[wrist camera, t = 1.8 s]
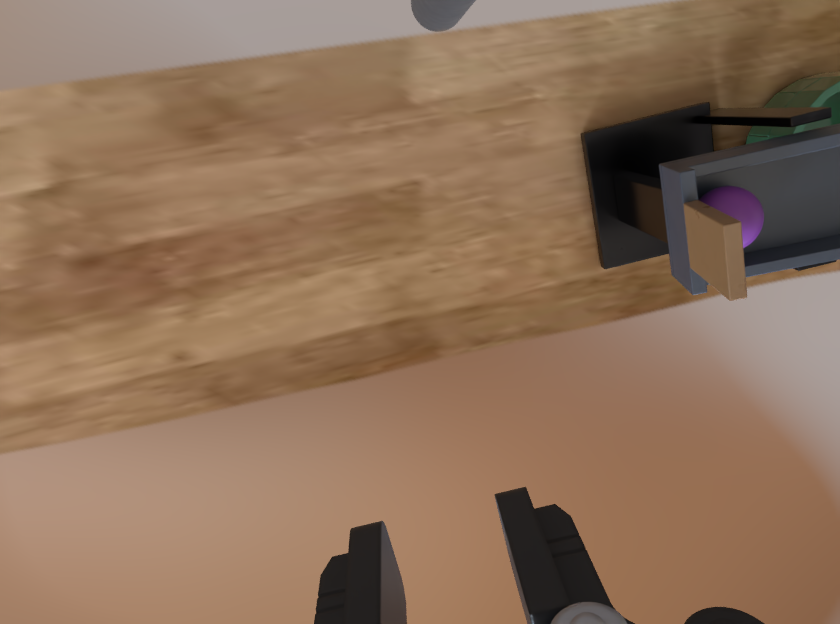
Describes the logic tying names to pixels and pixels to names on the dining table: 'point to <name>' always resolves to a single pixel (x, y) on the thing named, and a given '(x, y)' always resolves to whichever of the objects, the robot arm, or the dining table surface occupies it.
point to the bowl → (803, 104)
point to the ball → (738, 209)
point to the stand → (640, 177)
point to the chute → (781, 201)
